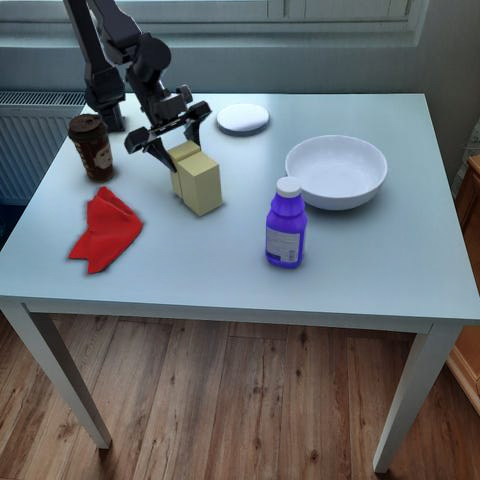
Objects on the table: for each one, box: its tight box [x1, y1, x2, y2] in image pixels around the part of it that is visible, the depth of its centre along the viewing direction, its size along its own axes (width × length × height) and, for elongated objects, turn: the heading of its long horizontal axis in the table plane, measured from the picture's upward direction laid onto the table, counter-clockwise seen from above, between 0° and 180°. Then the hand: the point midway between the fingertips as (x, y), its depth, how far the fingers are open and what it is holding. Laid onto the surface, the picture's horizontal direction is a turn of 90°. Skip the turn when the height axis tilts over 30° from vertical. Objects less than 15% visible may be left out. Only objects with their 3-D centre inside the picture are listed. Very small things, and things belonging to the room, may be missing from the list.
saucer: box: [216, 102, 270, 138], centre depth 119 cm, size 13×13×2 cm
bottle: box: [264, 176, 308, 269], centre depth 83 cm, size 7×6×17 cm
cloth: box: [67, 185, 144, 275], centre depth 96 cm, size 26×14×2 cm, turn 177°
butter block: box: [177, 150, 224, 217], centre depth 97 cm, size 6×6×10 cm
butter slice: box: [166, 140, 200, 200], centre depth 99 cm, size 4×6×10 cm, turn 128°
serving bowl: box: [284, 134, 389, 211], centre depth 99 cm, size 21×21×7 cm
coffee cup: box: [67, 112, 116, 183], centre depth 103 cm, size 9×8×13 cm
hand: (188, 166), depth 97 cm, fingers closed on butter slice, 6 cm apart
